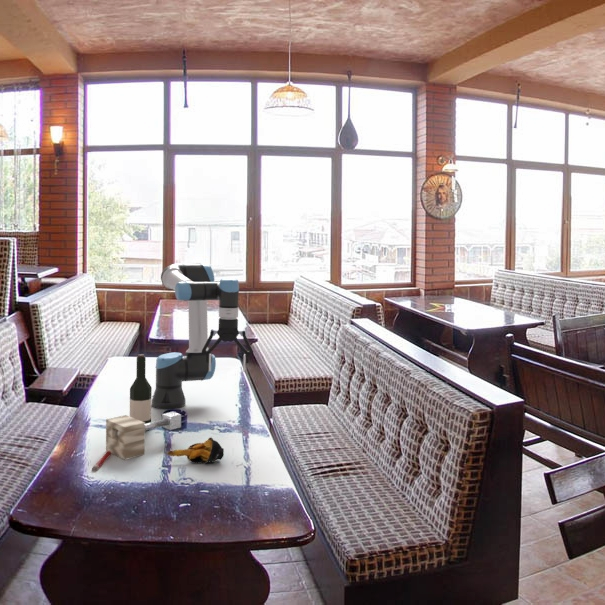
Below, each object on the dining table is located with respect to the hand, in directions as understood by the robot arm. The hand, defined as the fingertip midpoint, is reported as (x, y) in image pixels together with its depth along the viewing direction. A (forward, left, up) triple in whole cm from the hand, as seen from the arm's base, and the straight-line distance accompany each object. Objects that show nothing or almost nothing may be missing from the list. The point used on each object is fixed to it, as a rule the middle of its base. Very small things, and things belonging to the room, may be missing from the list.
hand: (227, 370), depth 247 cm
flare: (-2, -54, -25) cm, 59 cm away
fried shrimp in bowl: (+19, -30, -25) cm, 43 cm away
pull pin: (-5, -33, -19) cm, 39 cm away
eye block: (-5, -43, -24) cm, 50 cm away
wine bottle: (-24, -24, -25) cm, 42 cm away
